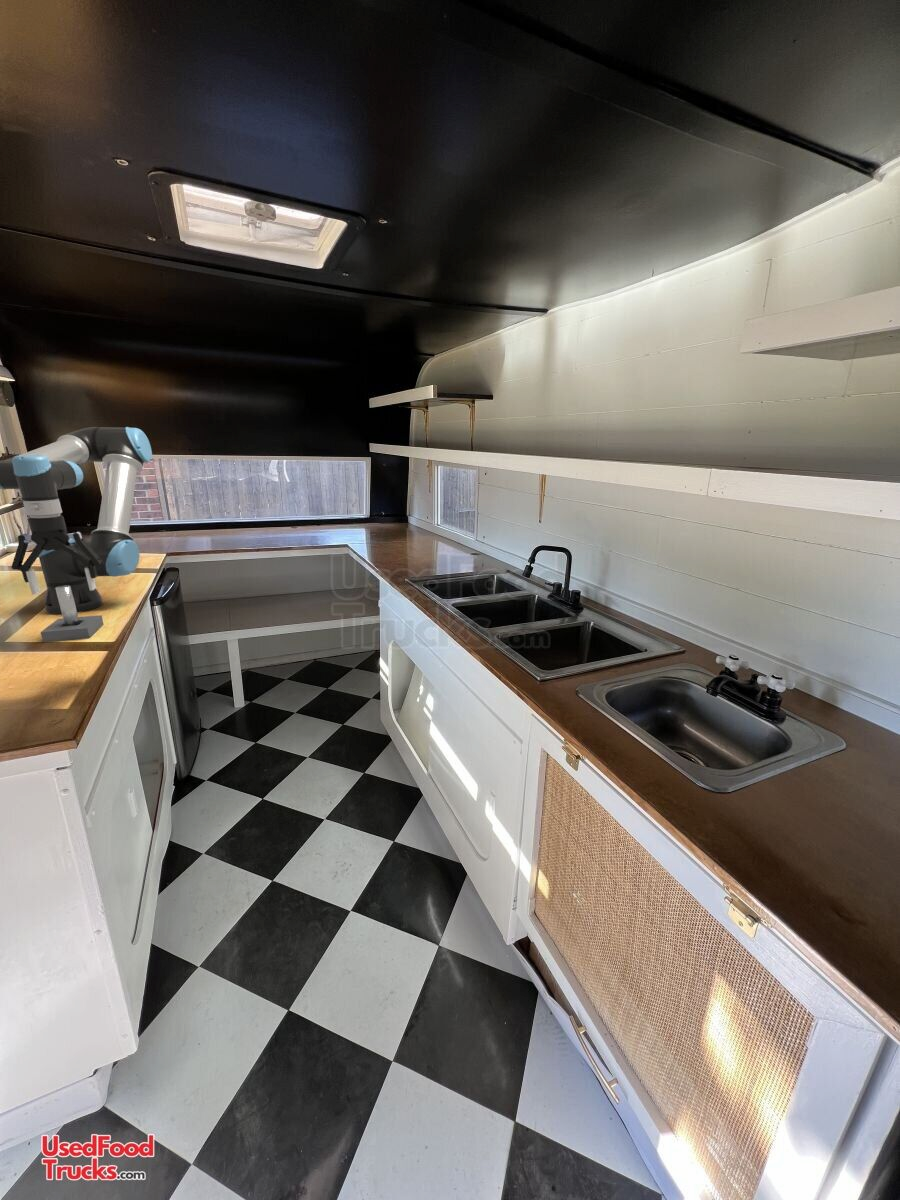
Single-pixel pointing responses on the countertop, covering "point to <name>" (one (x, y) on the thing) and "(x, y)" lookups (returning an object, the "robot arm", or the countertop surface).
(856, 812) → the countertop surface
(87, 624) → the socket block
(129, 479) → the robot arm
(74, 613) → the steel peg
